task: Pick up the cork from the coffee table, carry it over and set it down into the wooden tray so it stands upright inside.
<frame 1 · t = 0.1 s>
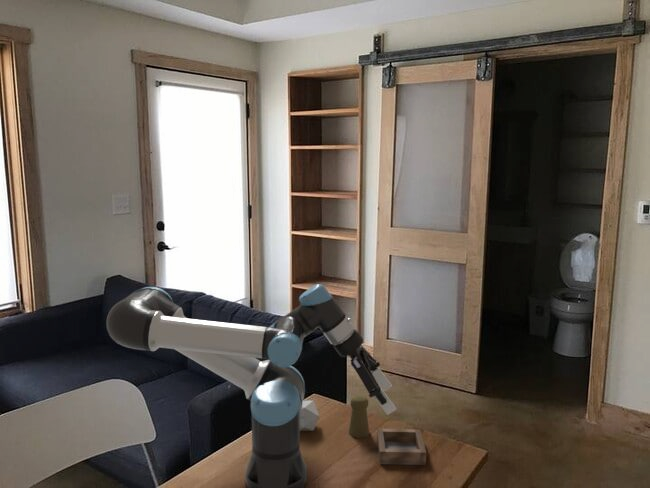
hand: (390, 399, 143), 15 cm above the table, tool tilted 35°, fingers open, 13 cm apart
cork: (359, 433, 156), on the table
die: (304, 428, 159), on the table
wooden tray: (400, 452, 146), on the table
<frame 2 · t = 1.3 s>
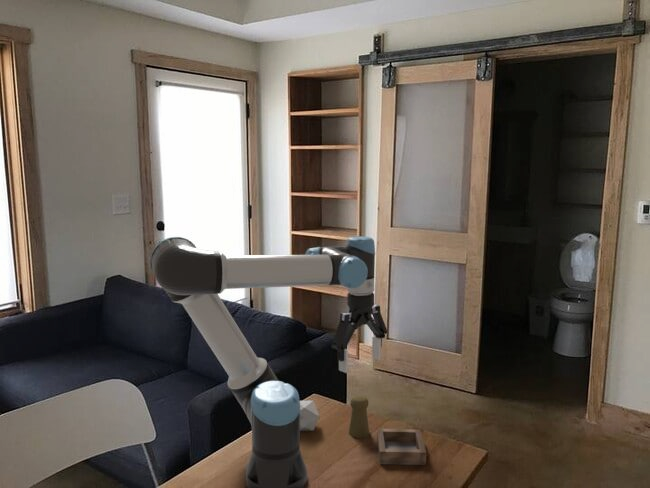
hand: (360, 365, 153), 21 cm above the table, tool pointing down, fingers open, 13 cm apart
nothing on the table moved.
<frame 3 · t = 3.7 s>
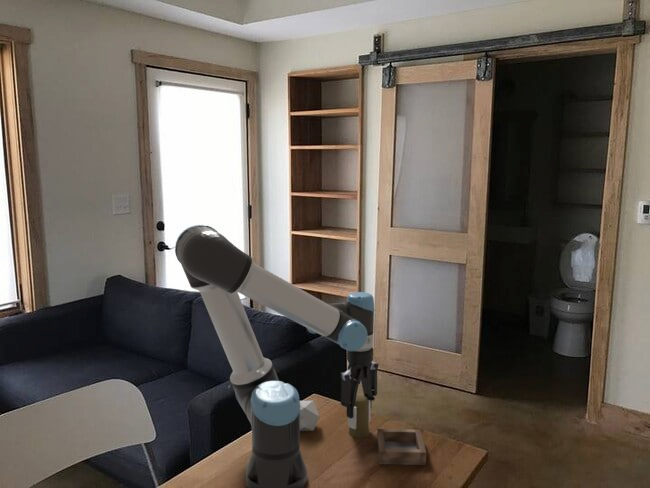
hand: (359, 423, 156), 3 cm above the table, tool pointing down, fingers closed on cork, 5 cm apart
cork: (359, 433, 156), on the table, touching gripper
everything else where it was.
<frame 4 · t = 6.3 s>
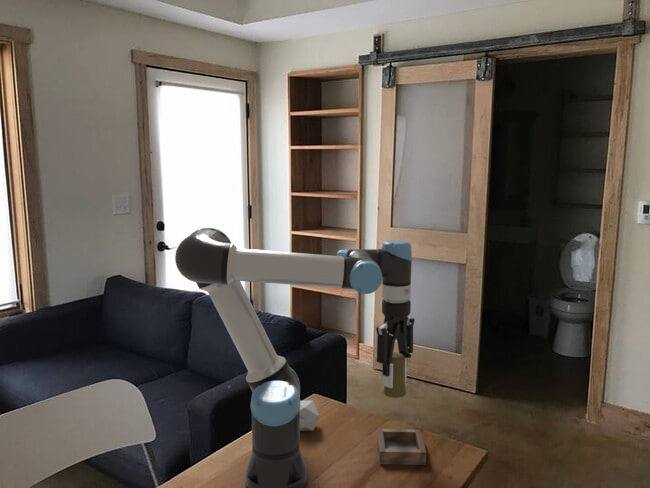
hand: (394, 383, 145), 19 cm above the table, tool pointing down, fingers closed on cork, 5 cm apart
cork: (394, 393, 146), point 16 cm above the table, touching gripper
everything else where it was.
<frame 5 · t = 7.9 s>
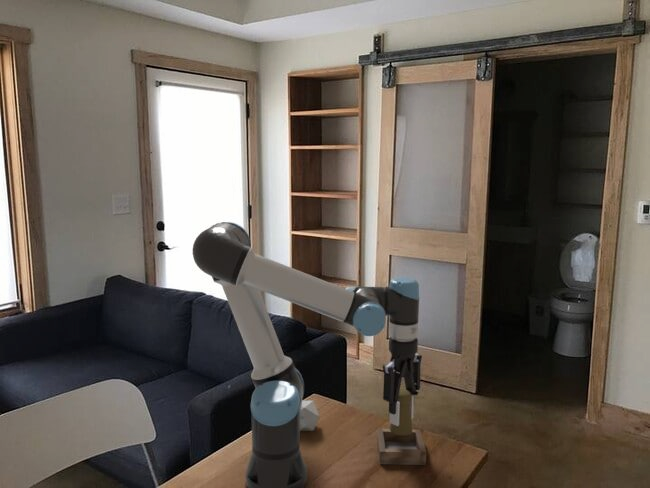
hand: (401, 420, 145), 9 cm above the table, tool pointing down, fingers closed on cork, 5 cm apart
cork: (401, 430, 145), point 6 cm above the table, touching gripper
everything else where it was.
when the fingers open (4 cm above the table, at t = 9.2 s): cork stays where it is, resting on wooden tray.
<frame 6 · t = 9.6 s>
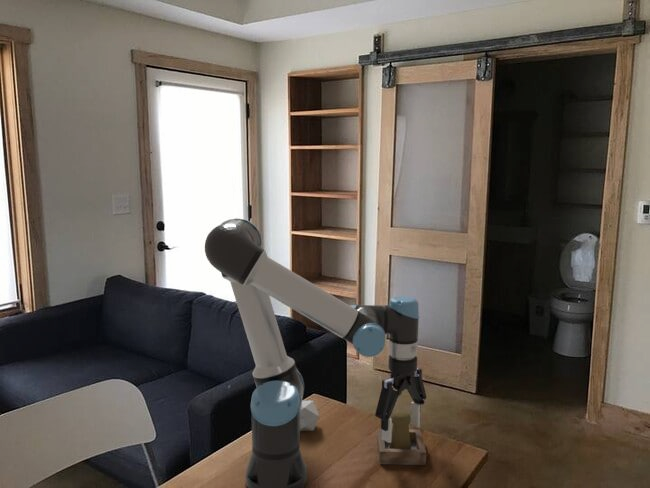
hand: (400, 432, 145), 6 cm above the table, tool pointing down, fingers open, 11 cm apart
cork: (400, 451, 146), resting on wooden tray
everything else where it was.
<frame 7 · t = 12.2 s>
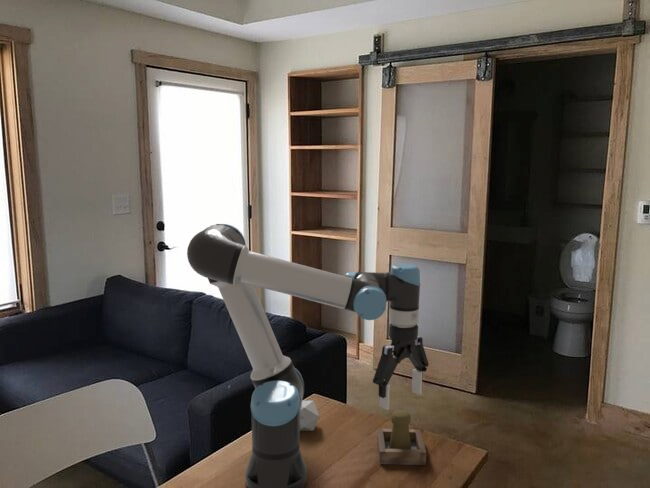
hand: (400, 400, 144), 15 cm above the table, tool pointing down, fingers open, 13 cm apart
nothing on the table moved.
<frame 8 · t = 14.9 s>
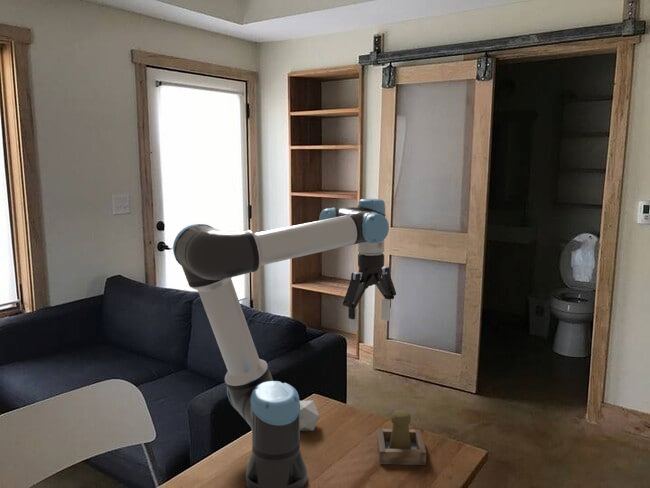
hand: (370, 324, 157), 31 cm above the table, tool pointing down, fingers open, 13 cm apart
nothing on the table moved.
at the end: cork 0.1 cm off-centre on the wooden tray, point 0.3 cm above the wooden tray's base; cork tilted 0°; the gripper is holding nothing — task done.
